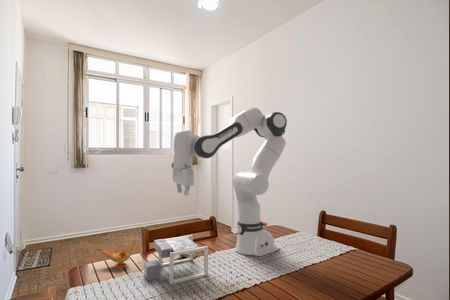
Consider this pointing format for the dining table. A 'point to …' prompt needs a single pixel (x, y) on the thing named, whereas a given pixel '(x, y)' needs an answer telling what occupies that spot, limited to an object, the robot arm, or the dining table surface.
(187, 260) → the frame
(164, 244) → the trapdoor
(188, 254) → the rock sample
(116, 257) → the magic lamp
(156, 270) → the stone
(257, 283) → the dining table surface
